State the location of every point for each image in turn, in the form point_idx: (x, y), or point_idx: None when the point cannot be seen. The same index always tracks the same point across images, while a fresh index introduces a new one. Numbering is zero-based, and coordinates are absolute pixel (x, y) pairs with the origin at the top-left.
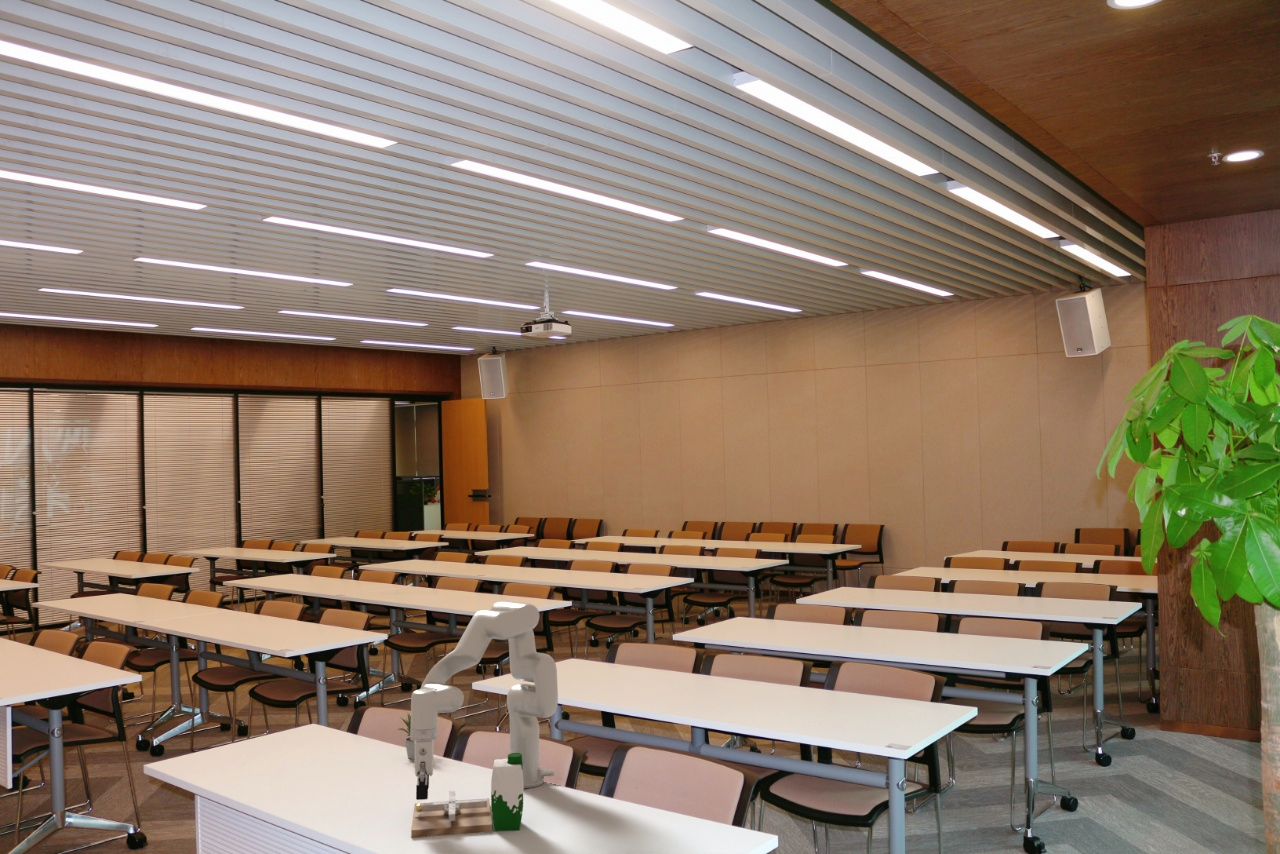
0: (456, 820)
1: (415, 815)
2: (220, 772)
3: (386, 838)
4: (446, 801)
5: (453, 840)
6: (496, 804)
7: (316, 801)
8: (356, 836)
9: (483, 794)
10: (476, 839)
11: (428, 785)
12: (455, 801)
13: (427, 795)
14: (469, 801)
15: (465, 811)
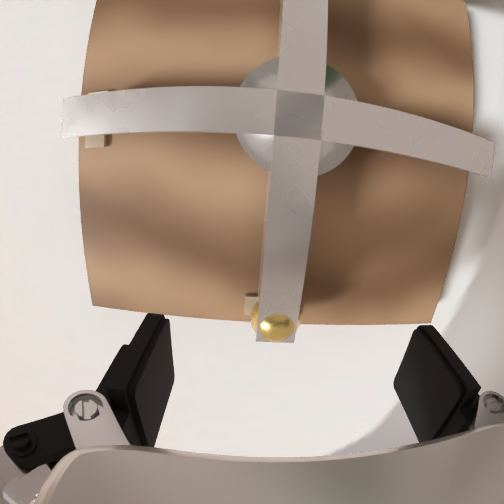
0: None
1: None
2: None
3: (381, 377)
4: (252, 152)
5: (493, 161)
6: None
7: None
8: (323, 438)
9: (5, 25)
10: (501, 84)
11: (157, 327)
12: (286, 89)
13: (441, 337)
14: (313, 5)
15: (274, 46)
